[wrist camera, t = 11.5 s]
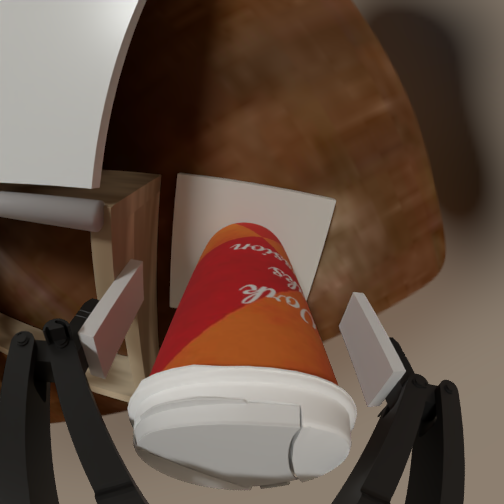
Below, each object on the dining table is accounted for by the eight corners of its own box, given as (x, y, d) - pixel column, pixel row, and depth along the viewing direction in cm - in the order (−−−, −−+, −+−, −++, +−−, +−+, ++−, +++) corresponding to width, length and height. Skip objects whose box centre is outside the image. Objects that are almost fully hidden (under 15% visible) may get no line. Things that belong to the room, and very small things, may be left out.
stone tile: (171, 302, 23) (169, 306, 22) (179, 172, 18) (177, 173, 18) (297, 320, 24) (298, 324, 23) (333, 198, 19) (336, 200, 19)
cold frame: (-6, 315, 25) (-36, 350, 18) (-37, 168, 16) (-85, 189, 9) (160, 371, 27) (143, 432, 20) (161, 174, 18) (110, 207, 11)
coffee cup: (314, 283, 22) (373, 467, 8) (220, 317, 23) (202, 496, 9) (274, 185, 18) (344, 368, 5) (167, 232, 20) (66, 417, 6)
